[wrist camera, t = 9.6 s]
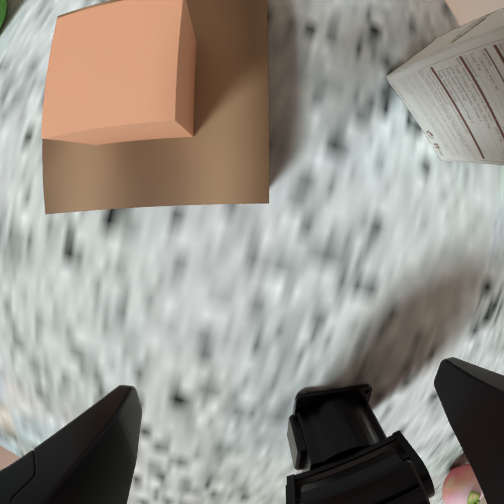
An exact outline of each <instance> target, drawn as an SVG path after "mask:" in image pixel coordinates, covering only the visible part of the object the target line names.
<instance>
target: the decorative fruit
mask: <svg viewBox="0 0 504 504" xmlns="http://www.w3.org/2000/svg"><path fill="white" fill-rule="evenodd" d="M483 496H484V495H483V492H482V490H481V488H480V485H479V483H478V481H477V479H476V476H475V474H474V472H473V470H472V468H471V466H470V464H465V465H462V466H459V467H455V468H452V469H451V471H450V472H449V474H448V475H447V477H446V479H445V481H444V484H443V488H442V497H443V501H444V503H445V504H478V503H479V502H480V499H481V498H482V497H483Z"/></svg>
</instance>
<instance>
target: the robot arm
mask: <svg viewBox="0 0 504 504" xmlns="http://www.w3.org/2000/svg"><path fill="white" fill-rule="evenodd" d="M434 386H435V389H436V391H437V394H438V396H439V399H440V401H441V403H442V406H443V408H444V411H445V413H446V416H447V418H448V421H449V423H450V425H451V427H452V429H453V431H454V433H455V435H456V437H457V439H458V441H459V443H460V445H461V447H462V449H463V451H464V453H465V455H466V457H467V459H468V461H469V463H470V466H471V468H472V470H473V472H474V474H475V476H476V479H477V481H478V483H479V485H480V488H481V490H482V492H483V495H484V497H485V499H486V502H487V504H504V376H503V375H501V374H498V373H495V372H492V371H490V370H487V369H484V368H481V367H479V366H476V365H473V364H471V363H468V362H465V361H463V360H460V359H457V358H454V357H451V358H447V359H444V360H442V362H441V363H440V366H439V369H438V371H437V374H436V377H435V380H434ZM365 390H366V391H365ZM371 392H372V388H371V387H370V385H368V384H366V385H360V386H354V387H347V388H341V389H334V390H326V391H319V392H310V393H301V394H299V395H297V396H296V398H295V405H294V413H293V415H291V416H290V417H289V423H288V432H287V437H288V441H289V446H290V450H291V455H292V459H293V464H294V468H295V469H296V470H302V471H303V473H300V474H296V475H294V474H293V475H290V476H287V485H286V504H430V502H429V498H431V497H432V496H434V494H435V491H434V486H433V482H432V480H431V477H430V475H429V472H428V470H427V468H426V466H425V465H424V463H423V461H422V460H421V458H420V457H419V456H418V454H417V453H416V452H415V450H414V449H413V448H412V446H411V445H410V444H409V442H408V441H407V440H406V439H405V437H404V436H403V435H402V433H401V432H400V431H399V430H398V431H397V432H395V433H393V434H392V435H391V436H389V437H386V435H385V433H384V431H383V429H382V427H381V426H380V424H379V422H378V420H377V418H376V416H375V414H374V413H373V411H372V409H371V407H370V405H369V404H368V402H369V399H370V396H371ZM301 399H303V400H301ZM141 418H142V408H141V405H140V401H139V398H138V394H137V391H136V389H135V387H133V386H127V385H120V386H118V387H117V388H115V389H114V390H113V391H111V392H110V393H109V394H107V395H106V396H105V397H103V398H102V399H101V400H100V401H98V402H97V403H96V404H94V405H93V406H92V407H90V408H89V409H88V410H86V411H85V412H83V413H82V414H81V415H79V416H78V417H77V418H75V419H74V420H73V421H71V422H70V423H69V424H67V425H66V426H65V427H63V428H62V429H61V430H59V431H58V432H56V433H55V434H54V435H52V436H51V437H50V438H48V439H47V440H45V441H44V442H43V443H41V444H40V445H38V446H37V447H36V448H34V450H31V451H30V452H29V453H27V454H26V455H24V456H23V457H21V458H20V459H19V460H17V461H15V462H14V463H12V464H11V465H9V466H8V467H6V468H4V469H2V470H1V471H0V504H127V500H128V496H129V491H130V486H131V482H132V478H133V473H134V469H135V465H136V460H137V452H138V443H139V434H140V426H141Z"/></svg>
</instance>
